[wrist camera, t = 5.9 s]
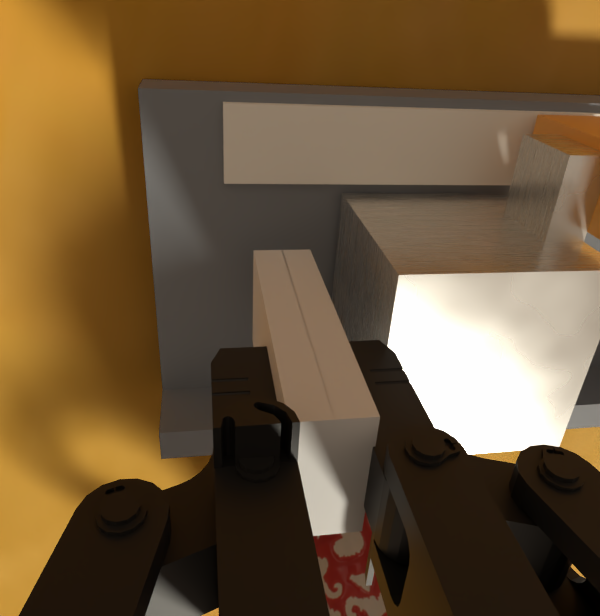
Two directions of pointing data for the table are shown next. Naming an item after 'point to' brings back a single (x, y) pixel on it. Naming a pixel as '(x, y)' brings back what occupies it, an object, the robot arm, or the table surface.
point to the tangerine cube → (581, 129)
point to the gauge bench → (298, 200)
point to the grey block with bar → (482, 294)
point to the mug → (348, 573)
